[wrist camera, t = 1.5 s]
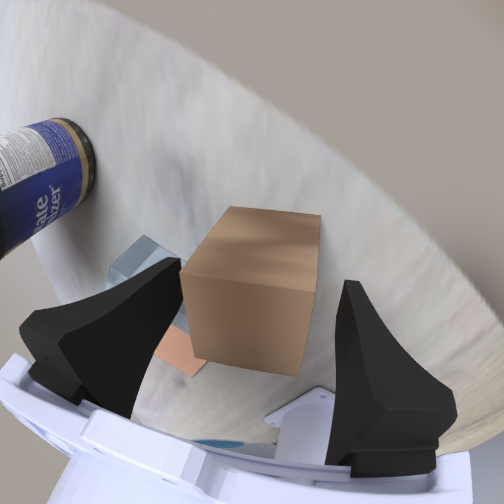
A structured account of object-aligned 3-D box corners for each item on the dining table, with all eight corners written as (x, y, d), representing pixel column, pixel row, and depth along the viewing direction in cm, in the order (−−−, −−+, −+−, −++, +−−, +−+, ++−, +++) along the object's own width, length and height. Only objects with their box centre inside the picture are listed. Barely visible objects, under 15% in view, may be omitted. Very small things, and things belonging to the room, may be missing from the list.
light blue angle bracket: (259, 307, 18) (245, 350, 15) (190, 382, 24) (176, 413, 21) (143, 234, 17) (110, 266, 14) (111, 333, 23) (91, 361, 20)
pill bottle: (74, 221, 18) (-42, 319, 9) (29, 162, 16) (-90, 233, 7) (114, 161, 15) (-53, 264, 6) (60, 96, 13) (-98, 152, 4)
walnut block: (320, 215, 14) (315, 292, 9) (310, 289, 16) (298, 377, 11) (230, 206, 15) (179, 272, 10) (232, 279, 17) (194, 357, 12)
